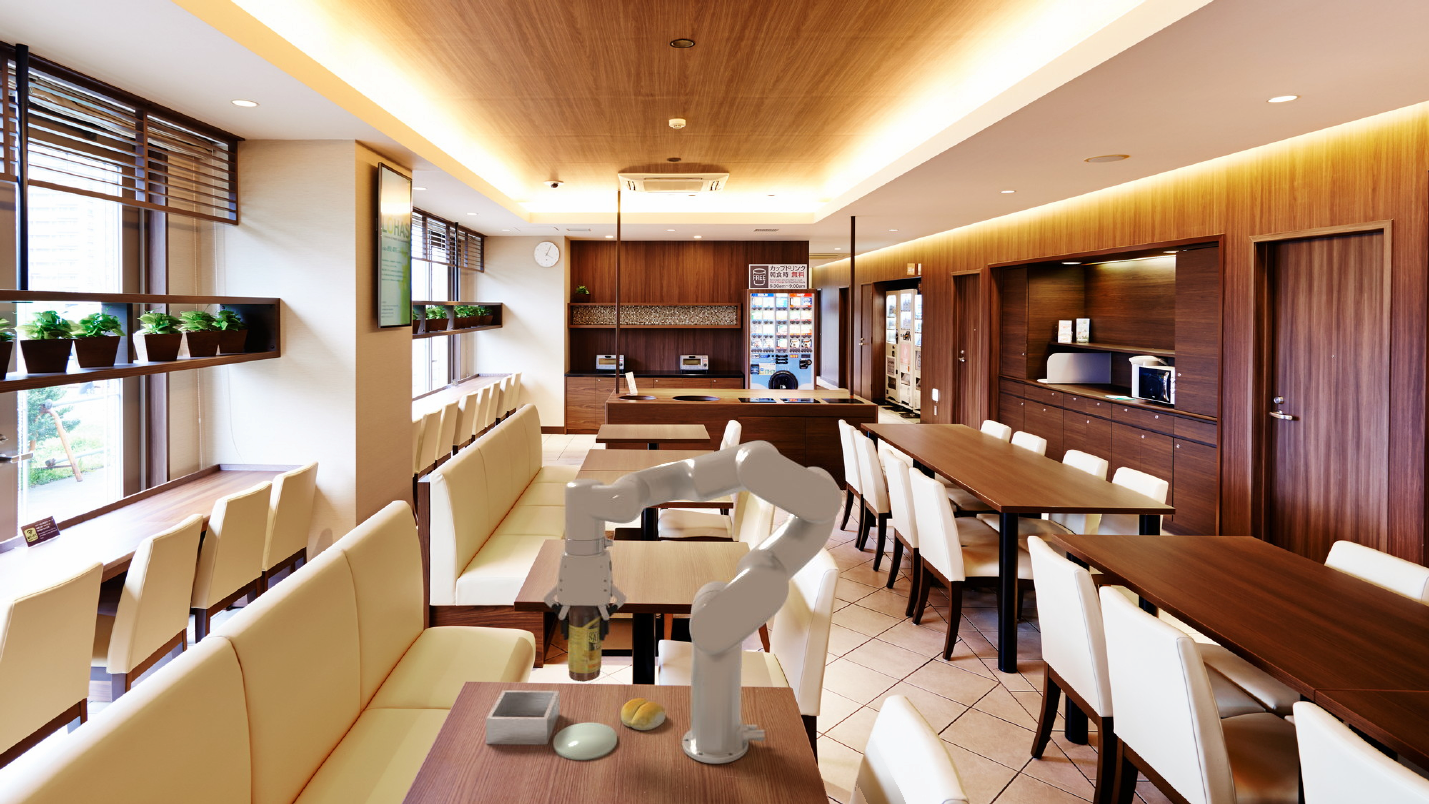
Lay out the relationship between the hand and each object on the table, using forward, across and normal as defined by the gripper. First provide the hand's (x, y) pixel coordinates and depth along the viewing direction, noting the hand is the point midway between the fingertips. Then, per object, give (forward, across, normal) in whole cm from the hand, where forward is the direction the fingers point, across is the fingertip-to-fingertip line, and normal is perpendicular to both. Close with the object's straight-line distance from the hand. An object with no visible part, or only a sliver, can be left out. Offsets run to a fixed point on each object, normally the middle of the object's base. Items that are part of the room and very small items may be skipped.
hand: (585, 637), depth 140 cm
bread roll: (+21, -10, -9) cm, 25 cm away
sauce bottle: (+8, 0, 0) cm, 8 cm away
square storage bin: (+21, +13, -5) cm, 25 cm away
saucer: (+21, 0, 0) cm, 21 cm away
